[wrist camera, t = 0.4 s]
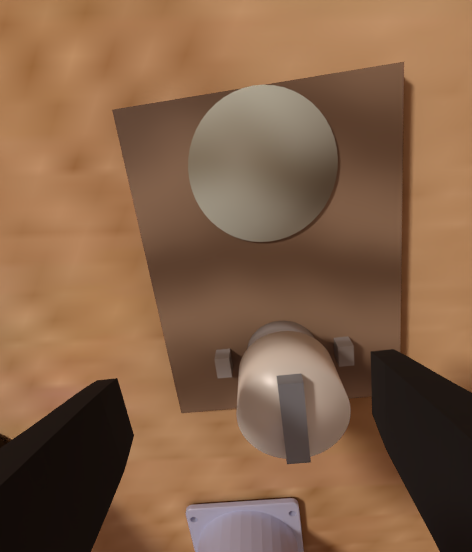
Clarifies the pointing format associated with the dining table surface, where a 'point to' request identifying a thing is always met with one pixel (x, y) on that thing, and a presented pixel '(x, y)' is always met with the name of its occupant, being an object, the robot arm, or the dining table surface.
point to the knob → (290, 397)
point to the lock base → (271, 222)
